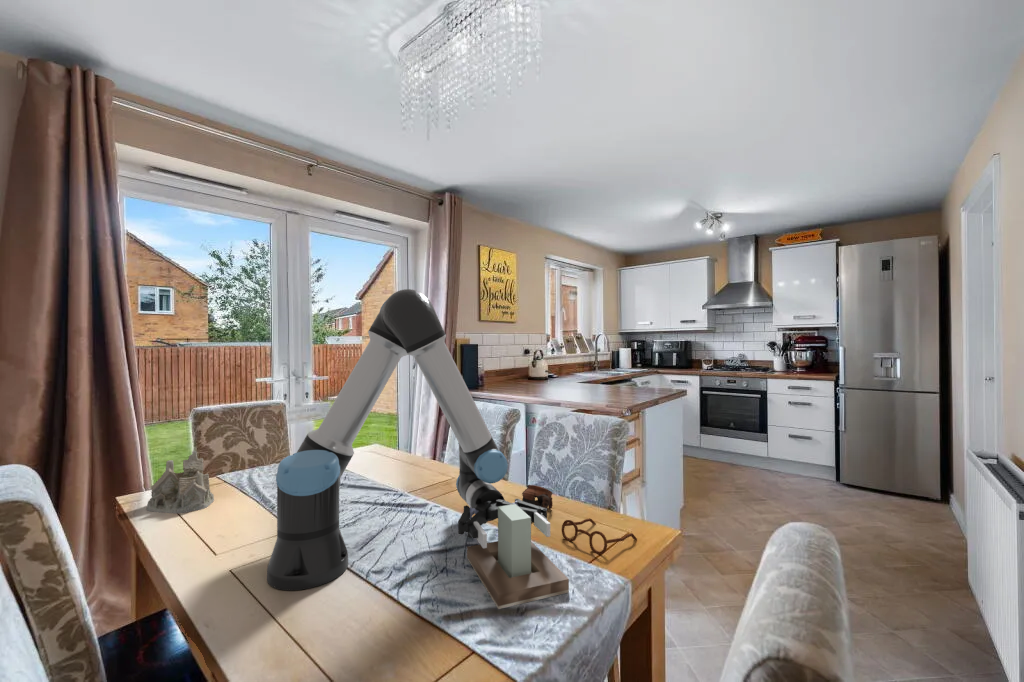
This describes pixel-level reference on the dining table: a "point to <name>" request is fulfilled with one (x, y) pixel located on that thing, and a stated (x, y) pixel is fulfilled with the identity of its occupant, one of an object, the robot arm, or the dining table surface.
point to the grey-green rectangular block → (514, 540)
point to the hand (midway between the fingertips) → (517, 535)
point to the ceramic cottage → (181, 488)
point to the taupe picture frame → (520, 588)
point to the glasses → (591, 534)
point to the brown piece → (538, 496)
